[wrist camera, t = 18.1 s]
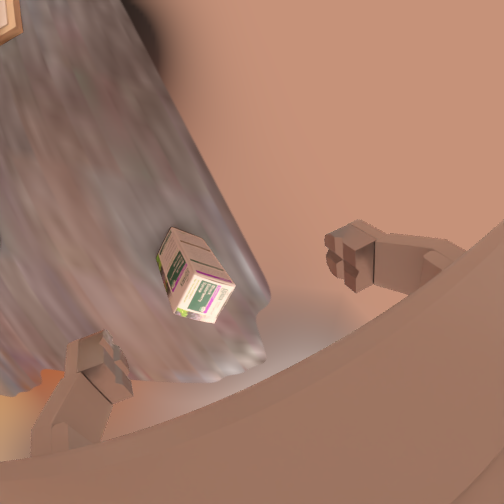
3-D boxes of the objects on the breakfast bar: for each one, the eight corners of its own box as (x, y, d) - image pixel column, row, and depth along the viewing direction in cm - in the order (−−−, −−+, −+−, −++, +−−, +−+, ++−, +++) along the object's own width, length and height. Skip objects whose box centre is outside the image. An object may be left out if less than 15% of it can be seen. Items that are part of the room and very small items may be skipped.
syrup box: (170, 225, 44) (192, 272, 32) (204, 238, 47) (237, 287, 35) (155, 258, 45) (171, 315, 33) (188, 269, 48) (215, 325, 36)
